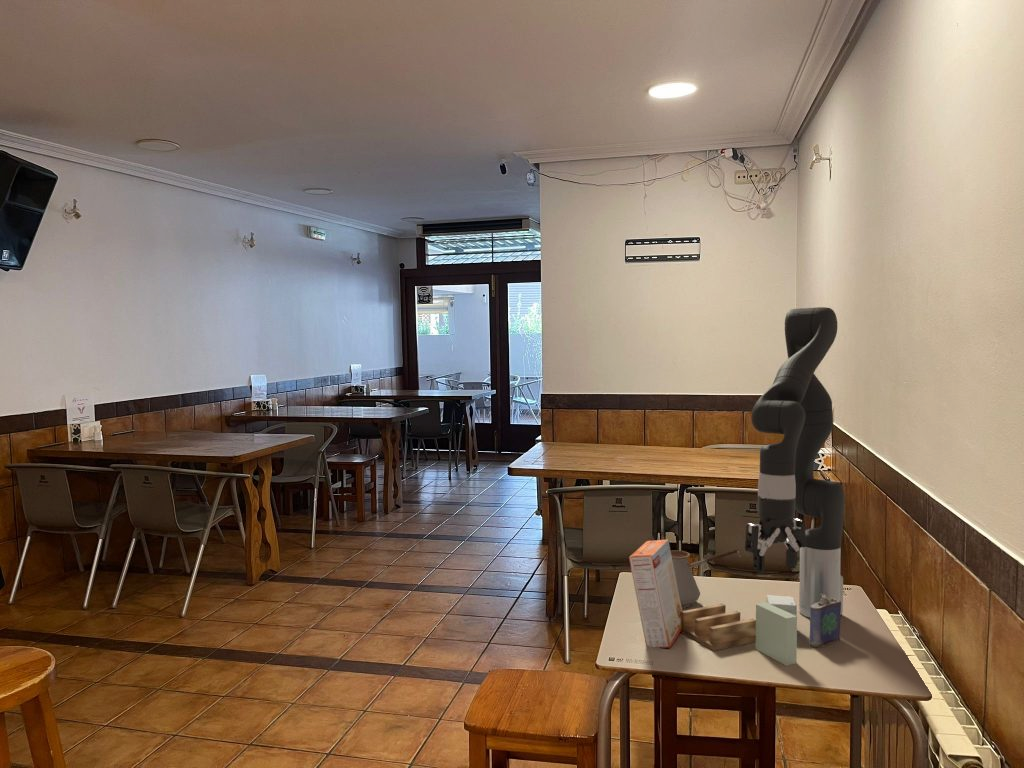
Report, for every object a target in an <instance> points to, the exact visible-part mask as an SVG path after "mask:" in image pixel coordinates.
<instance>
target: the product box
mask: <svg viewBox="0 0 1024 768" xmlns="http://www.w3.org/2000/svg"><path fill="white" fill-rule="evenodd" d="M766 603H769V604H771V605H773V606H775V607H777V608H780V609H782V610H784V611H786V612H789V613H791V614H793V615H795V616H797V617H798V615H797V611H798V610H797V604H796V602H795V599H794V597H793V596H786V595H785V596H783V595H771V594H766Z"/></svg>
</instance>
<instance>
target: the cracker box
mask: <svg viewBox="0 0 1024 768" xmlns="http://www.w3.org/2000/svg"><path fill="white" fill-rule="evenodd" d="M671 551H672V550H671V546H670V541H669V539H659V540H658V539H656V540H655V539H654V540H647V541H645V542H644V543H643V544H642V545H641V546H640V547H639V548H637V550H636V551H634V552H633V553H632V554H631V555H629V557H628V560H629V564H630V571H631V575H632V579H633V586H634V591H635V596H636V602H637V606H638V612H639V616H640V621H641V626H642V628H641V629H642V632H643V636H644V642H645V646H646V645H649V646H648V647H651V646H655V647H654V648H657V647H661V649H668V648H669V649H670V648H671V647H672V646H673V644H674V643H675V641H676V639H677V638H678V636H679V635H680V633H682V632H681V630H682V620H681V611H683V610H682V609H683V608H681V603H680V598H679V593H678V587H677V582H676V577H675V572H674V567H673V561H672V556H671Z"/></svg>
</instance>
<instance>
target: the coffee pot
mask: <svg viewBox="0 0 1024 768" xmlns="http://www.w3.org/2000/svg"><path fill="white" fill-rule="evenodd" d="M670 551H671V556H672V561H673V567H674V572H675V577H676V582H677V587H678V593H679V598H680V603H681V608H682V609H684V608H689V607H691V606H693V605H694V604H695V603H696V602H697V601H699V598H700V596H701V592H700V589H699V587H698V584H697V582H696V581H697V580H696V579H695V577H694V575H693V573H692V570H691V568H694V567H697V566H700V565H703V564H705V563H710V562H712V561H713V562H715V561H718V560H721V559H723V558H725V557H727V556H732V555H733V554H736V553H738V556H739V558H741V557H742V556H741V553H740V550H739V549H738V548H737V549H733V550H728V551H726V552H721V553H717V554H715V555H713V556H710V557H708V558H705V559H702V560H699V561H695V562H693V563H688V562H689V558H690V557H691V553H689V552H687V551H685V550H676V549H675V550H673V549H672V550H670Z"/></svg>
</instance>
